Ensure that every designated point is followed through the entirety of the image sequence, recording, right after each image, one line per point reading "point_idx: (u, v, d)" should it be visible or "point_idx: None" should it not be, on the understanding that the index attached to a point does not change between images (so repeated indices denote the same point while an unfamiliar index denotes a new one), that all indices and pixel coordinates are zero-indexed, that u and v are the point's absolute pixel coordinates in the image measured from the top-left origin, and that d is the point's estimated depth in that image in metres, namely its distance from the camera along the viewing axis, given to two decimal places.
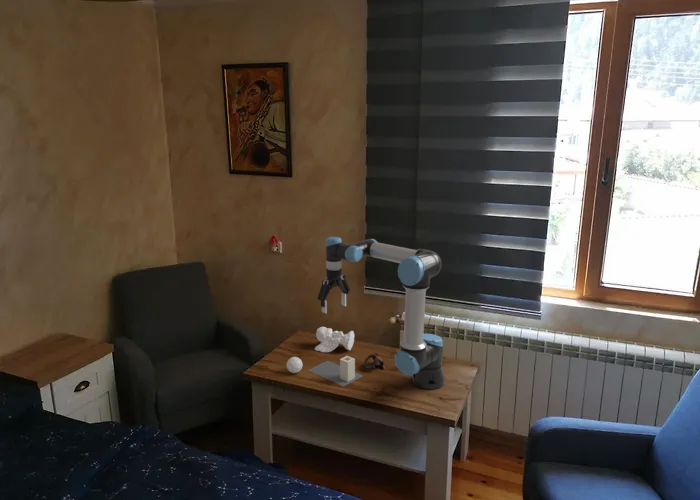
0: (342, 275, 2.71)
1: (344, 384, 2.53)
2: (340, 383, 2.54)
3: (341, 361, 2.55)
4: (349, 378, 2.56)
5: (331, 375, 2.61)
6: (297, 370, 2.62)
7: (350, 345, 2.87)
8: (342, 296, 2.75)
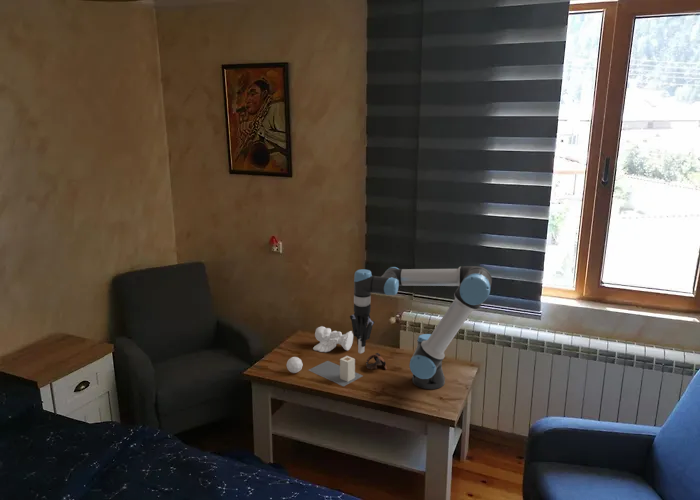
0: (371, 321, 2.41)
1: (344, 384, 2.53)
2: (340, 383, 2.54)
3: (341, 361, 2.55)
4: (349, 378, 2.56)
5: (331, 375, 2.61)
6: (297, 370, 2.62)
7: (348, 345, 2.87)
8: None
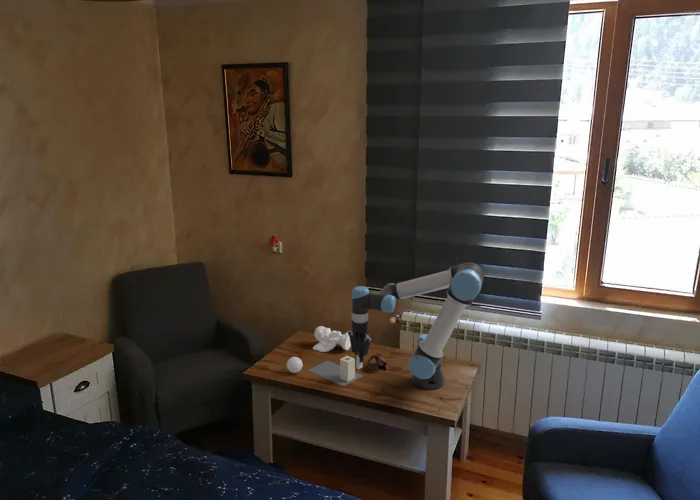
0: (369, 338, 2.44)
1: (344, 384, 2.53)
2: (340, 383, 2.54)
3: (341, 361, 2.55)
4: (349, 378, 2.56)
5: (331, 375, 2.61)
6: (297, 370, 2.62)
7: (348, 345, 2.87)
8: None
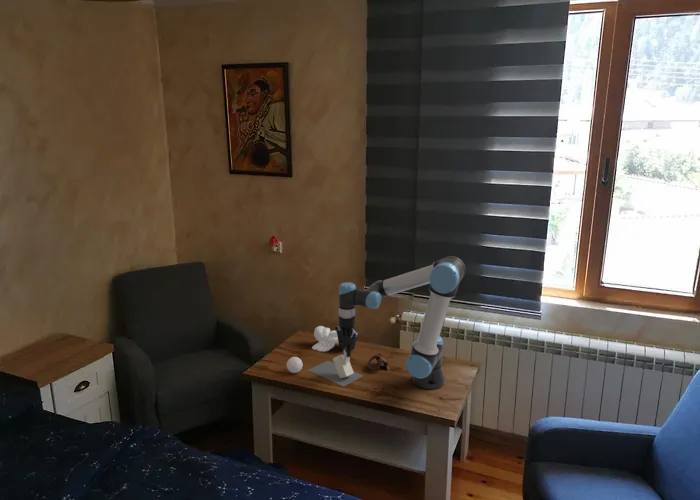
0: (355, 333, 2.49)
1: (344, 384, 2.53)
2: (340, 383, 2.54)
3: (334, 359, 2.59)
4: (347, 373, 2.56)
5: (331, 375, 2.61)
6: (297, 370, 2.62)
7: None
8: None
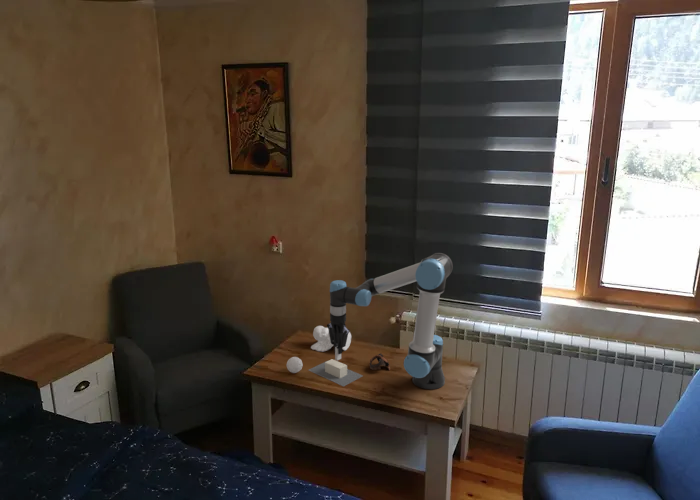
0: (346, 330, 2.52)
1: (344, 384, 2.53)
2: (340, 383, 2.54)
3: (326, 370, 2.64)
4: (339, 367, 2.59)
5: (331, 375, 2.61)
6: (297, 370, 2.62)
7: None
8: None
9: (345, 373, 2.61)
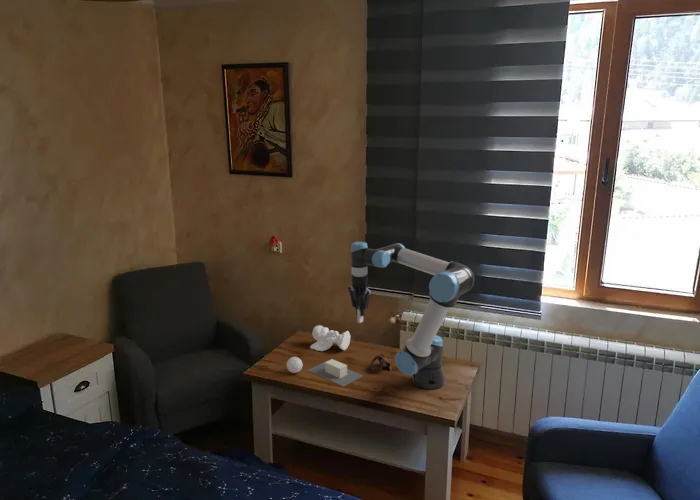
0: (369, 290, 2.53)
1: (344, 384, 2.53)
2: (340, 383, 2.54)
3: (326, 370, 2.64)
4: (339, 367, 2.59)
5: (331, 375, 2.61)
6: (297, 370, 2.62)
7: (345, 345, 2.87)
8: None
9: (345, 373, 2.61)
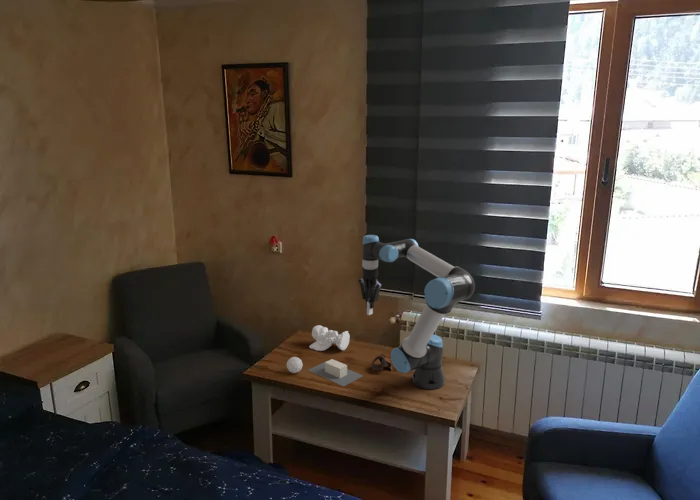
0: (379, 284, 2.55)
1: (344, 384, 2.53)
2: (340, 383, 2.54)
3: (326, 370, 2.64)
4: (339, 367, 2.59)
5: (331, 375, 2.61)
6: (297, 370, 2.62)
7: (343, 345, 2.87)
8: None
9: (345, 373, 2.61)
